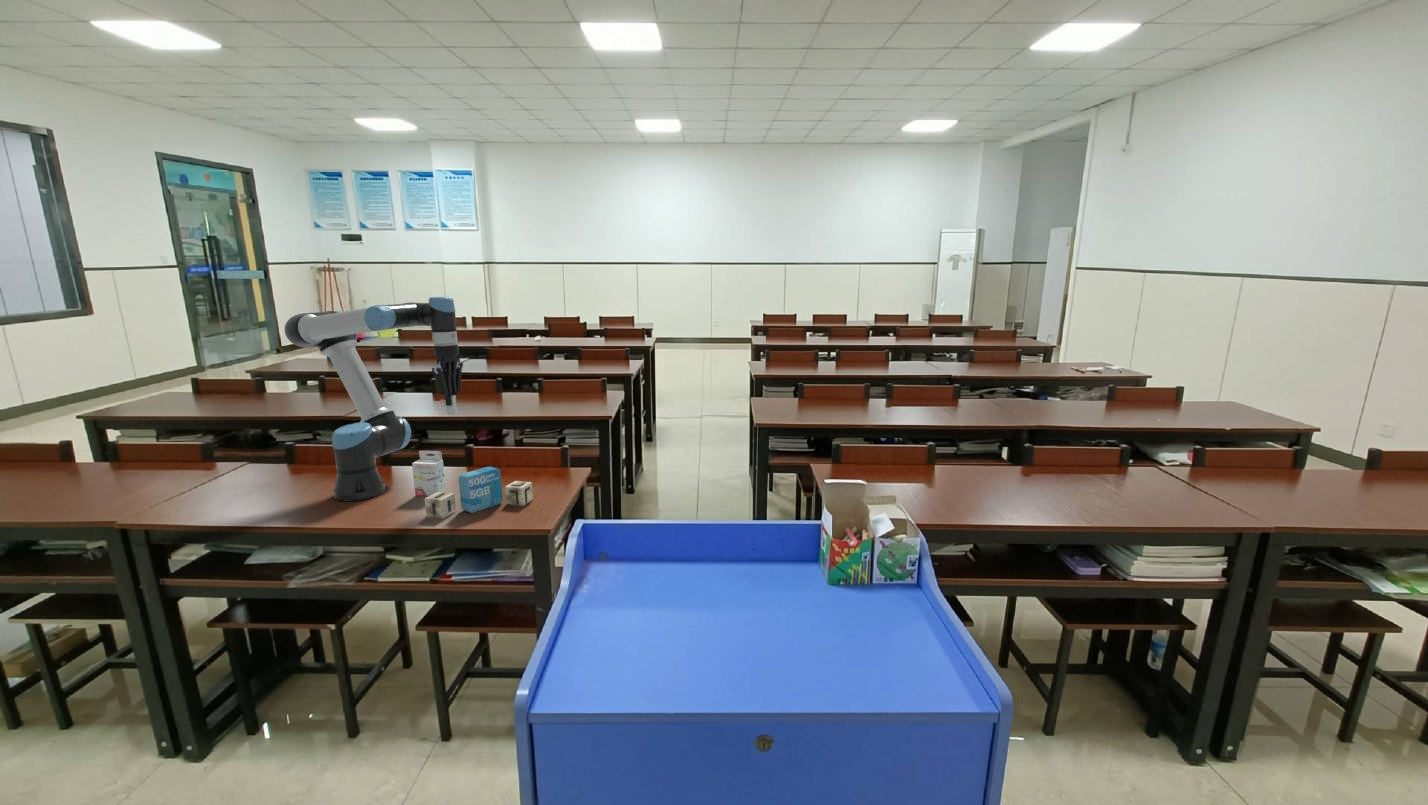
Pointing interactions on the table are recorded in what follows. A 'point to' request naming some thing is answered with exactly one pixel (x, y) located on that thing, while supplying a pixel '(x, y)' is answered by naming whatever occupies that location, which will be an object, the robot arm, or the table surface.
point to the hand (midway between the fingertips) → (452, 414)
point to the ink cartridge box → (429, 474)
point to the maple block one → (440, 505)
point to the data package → (480, 489)
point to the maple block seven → (519, 493)
